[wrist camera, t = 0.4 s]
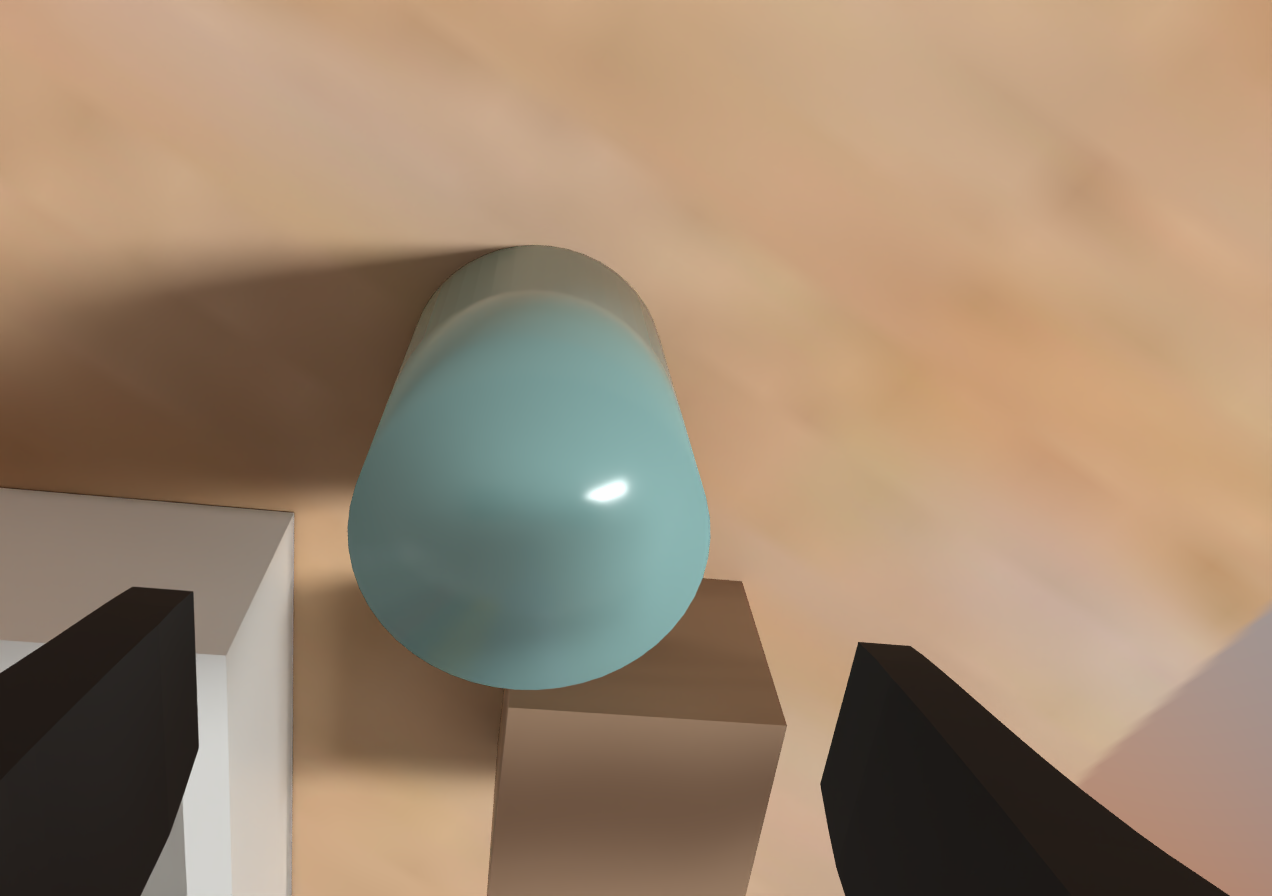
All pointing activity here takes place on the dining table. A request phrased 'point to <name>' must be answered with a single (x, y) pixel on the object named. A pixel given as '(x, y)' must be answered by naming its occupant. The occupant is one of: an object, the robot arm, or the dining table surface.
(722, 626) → the walnut cube
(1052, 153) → the dining table surface
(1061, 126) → the dining table surface
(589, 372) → the teal canister
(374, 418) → the dining table surface
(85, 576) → the grey tote
